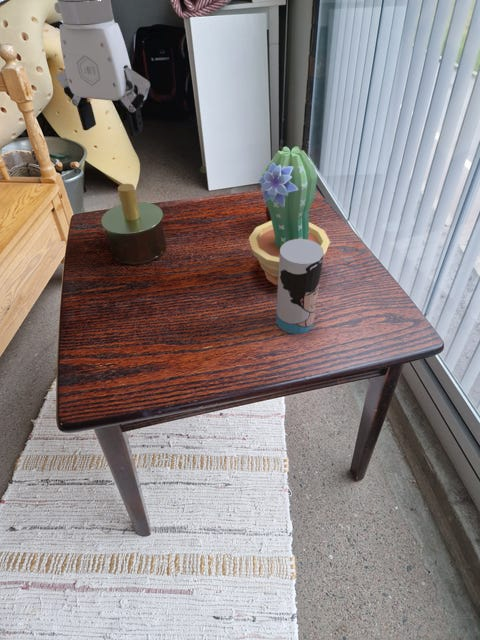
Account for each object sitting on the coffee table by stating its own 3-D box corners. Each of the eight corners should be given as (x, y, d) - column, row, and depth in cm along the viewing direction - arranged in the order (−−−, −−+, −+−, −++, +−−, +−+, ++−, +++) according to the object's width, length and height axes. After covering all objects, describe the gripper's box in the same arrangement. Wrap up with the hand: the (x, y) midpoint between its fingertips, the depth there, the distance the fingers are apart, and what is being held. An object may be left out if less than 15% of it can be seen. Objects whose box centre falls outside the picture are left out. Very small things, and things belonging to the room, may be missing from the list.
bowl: (101, 259, 90) (92, 228, 85) (129, 231, 98) (122, 201, 93) (149, 269, 87) (143, 238, 82) (174, 239, 95) (170, 209, 90)
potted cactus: (237, 262, 88) (233, 141, 71) (301, 244, 93) (312, 126, 75) (269, 306, 78) (274, 179, 61) (340, 284, 82) (363, 159, 65)
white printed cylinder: (306, 338, 72) (315, 268, 62) (270, 327, 74) (273, 257, 64) (318, 314, 76) (329, 244, 66) (284, 303, 79) (289, 235, 68)
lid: (90, 231, 85) (79, 197, 80) (122, 202, 94) (115, 169, 88) (145, 242, 82) (138, 207, 77) (173, 211, 90) (169, 177, 85)
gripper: (23, 15, 63) (59, 133, 75) (124, 19, 58) (145, 144, 70) (55, 7, 68) (84, 118, 80) (150, 11, 63) (166, 128, 75)
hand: (113, 130), depth 75 cm, fingers open, 9 cm apart
